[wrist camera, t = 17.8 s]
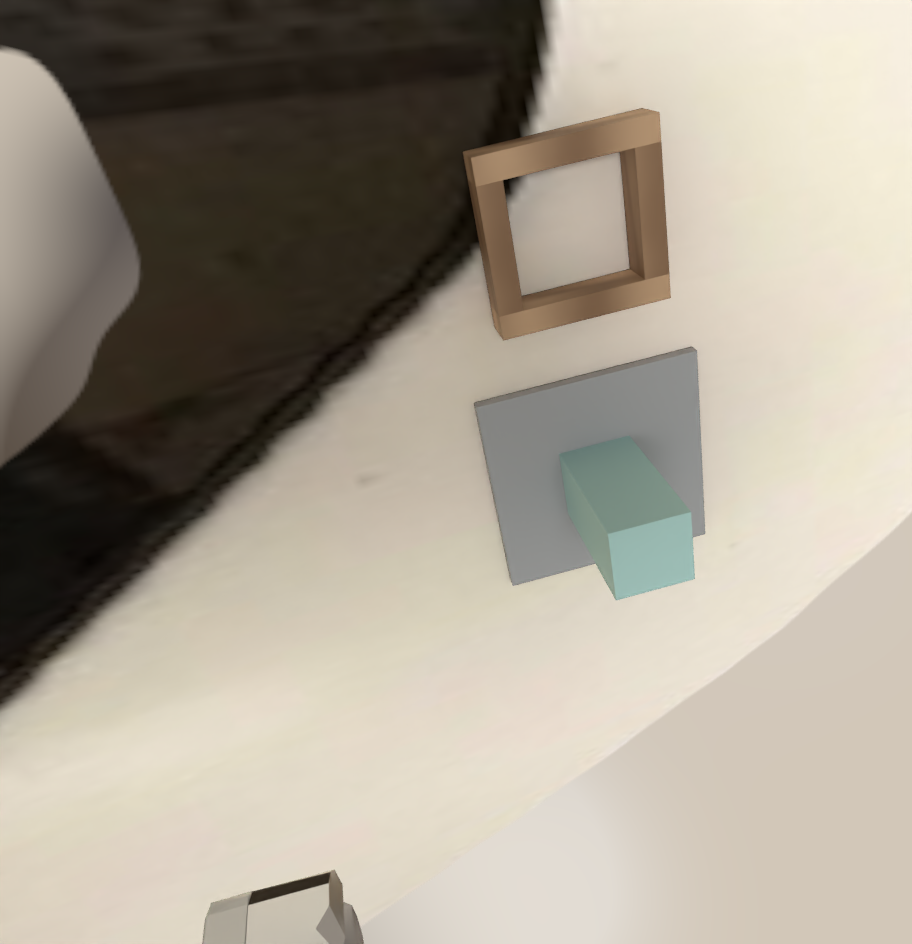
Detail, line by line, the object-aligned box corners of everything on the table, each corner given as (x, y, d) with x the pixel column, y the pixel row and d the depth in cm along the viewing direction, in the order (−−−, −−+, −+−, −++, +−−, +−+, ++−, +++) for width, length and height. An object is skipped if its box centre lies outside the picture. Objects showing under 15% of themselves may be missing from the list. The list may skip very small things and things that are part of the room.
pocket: (494, 327, 40) (503, 340, 38) (462, 151, 35) (470, 158, 34) (654, 286, 40) (670, 297, 38) (642, 108, 36) (659, 112, 34)
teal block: (568, 513, 45) (616, 600, 38) (558, 453, 43) (608, 534, 36) (635, 495, 45) (695, 578, 38) (629, 435, 43) (691, 511, 36)
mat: (510, 579, 48) (512, 586, 47) (473, 403, 42) (476, 407, 41) (700, 528, 48) (705, 534, 48) (691, 346, 42) (696, 350, 42)
